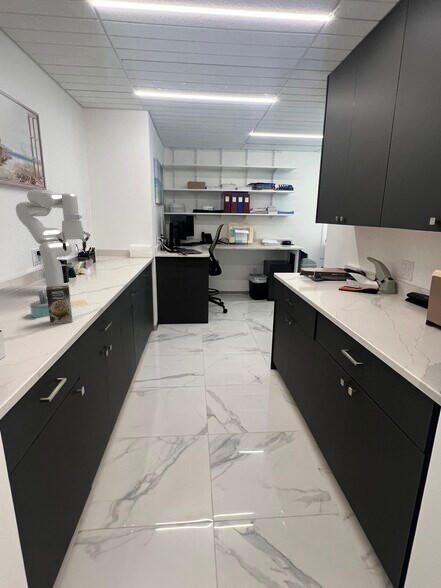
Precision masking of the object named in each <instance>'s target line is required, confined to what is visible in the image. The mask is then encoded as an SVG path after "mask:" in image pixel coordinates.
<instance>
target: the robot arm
mask: <svg viewBox="0 0 441 588" xmlns="http://www.w3.org/2000/svg"><path fill="white" fill-rule="evenodd" d="M26 194H27V195H26V197H27V198H26V199H27V200H28V201H22V202H19V203H17V204H16V205H15V212H16V216H17V218H18V220H19V221H20V222H21V224H22V225H24V227H26V229H27V230H28V232H29V233H30V235H31V236H32V237H33V239H34V241H35V242H36V243H38V245H39V247H38V250H39V253H40V256H41V259H42V265H43V270H44V271H43V272H44V278H45V285H46V287H54V286H65V282H64V273H63V268H62V267H63V266H62V263H61V261H60V260H59V259H58V258H62V257H68V256H70V255H71V254H72V251H73V249H72V245H71V243H70V242H69V240H81V241H82V243H81V244H82V249H83V250H84V251H85V250H86V249H87V242H88V241H89V239H90V236H91V234H90V233H89V232H86V231H84V228H83V224H82V220H81V219H83V216H82V215H80V213H79V212H80V211H79V205H78V203H79V202H78V196H77V195H76V194H74V193H57V192H55V193H54V192H53V191H52V190H50V189H48V190H47V189H39V188H38V189H37V188H36V189H30V190H29V191H28V192H27V193H26ZM52 209H62V214H63V215H62V216H63V220H61V230H60V229H59V228H57V227H46V226H45V225H44V224H43V223H42V222H41V220H39V219H38V218H36V217H47V216H49V215H50V213H51V211H52ZM85 235H86V236H85ZM46 296H47V293H46Z"/></svg>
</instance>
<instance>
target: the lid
mask: <svg viewBox="0 0 441 588" xmlns="http://www.w3.org/2000/svg"><path fill="white" fill-rule="evenodd" d="M38 297H39V300H37V301H34V302H31V303H30V304H29V307H30V306H31V307H32V308H45V307H48V301H47V295H46V289H45V290H43V289H41V290H38Z"/></svg>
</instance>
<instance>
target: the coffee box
mask: <svg viewBox="0 0 441 588" xmlns="http://www.w3.org/2000/svg"><path fill="white" fill-rule="evenodd" d="M69 286H70V285H69V284H67V285H64V286H54V287H47V286H46V287H45V290H46V293H47V295H46V297H47V301H48V309H49V316H48V317H49V324H50V326H52V325H61V324H67V323H68V324H69V323H73V322H74V320H73V312H72V307H71V302H72V301H71V295H70V287H69Z"/></svg>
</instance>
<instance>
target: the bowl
mask: <svg viewBox="0 0 441 588" xmlns="http://www.w3.org/2000/svg"><path fill="white" fill-rule="evenodd" d="M29 307H30V313H31V317H32V318H34V319H36V318H46V317H49V309H48V307H45V308H32V307H31V306H30V305H29Z"/></svg>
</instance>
